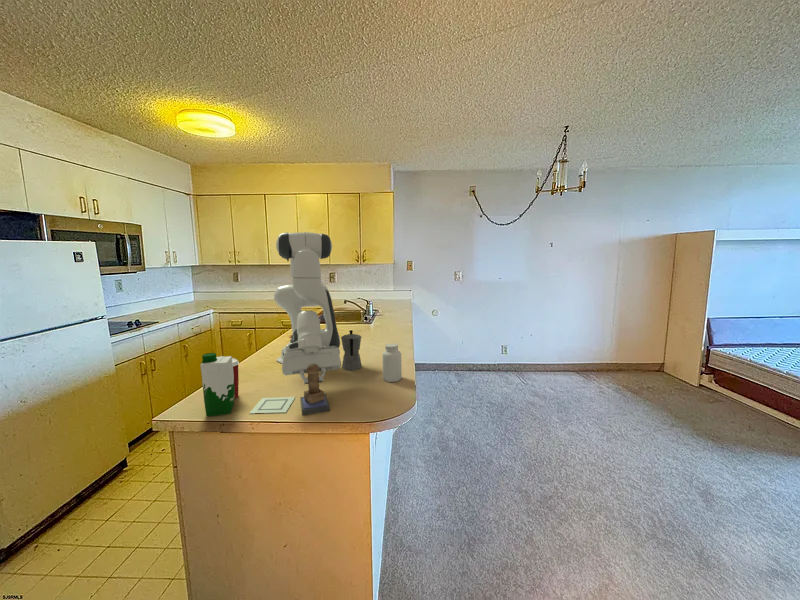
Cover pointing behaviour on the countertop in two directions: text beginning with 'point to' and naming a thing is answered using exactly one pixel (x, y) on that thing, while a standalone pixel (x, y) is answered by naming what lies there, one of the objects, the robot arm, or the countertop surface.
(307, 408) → the ink pad
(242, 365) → the countertop surface
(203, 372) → the milk carton
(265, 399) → the card
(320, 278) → the robot arm
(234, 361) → the paper cup
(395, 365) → the pill bottle
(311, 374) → the stamp
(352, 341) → the coffeepot
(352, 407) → the countertop surface
